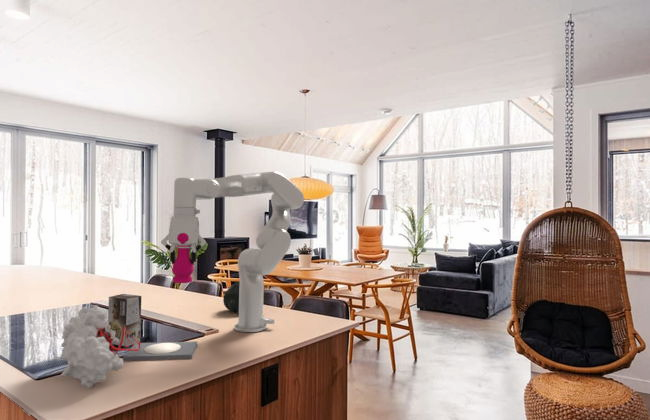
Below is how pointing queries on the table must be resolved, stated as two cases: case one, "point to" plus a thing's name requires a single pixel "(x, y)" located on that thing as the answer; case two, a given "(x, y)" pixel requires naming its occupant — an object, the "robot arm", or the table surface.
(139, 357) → the board
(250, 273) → the robot arm
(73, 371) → the lumpy white molecule
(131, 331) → the electrical box
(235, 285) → the squash
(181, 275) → the pepper mill
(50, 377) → the table surface
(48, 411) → the table surface
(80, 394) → the table surface
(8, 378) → the table surface
